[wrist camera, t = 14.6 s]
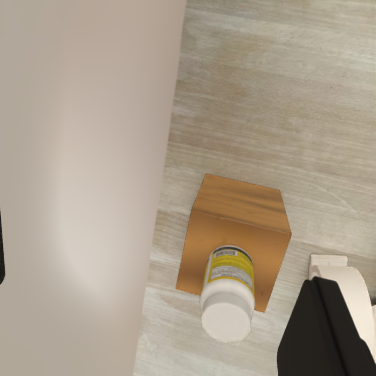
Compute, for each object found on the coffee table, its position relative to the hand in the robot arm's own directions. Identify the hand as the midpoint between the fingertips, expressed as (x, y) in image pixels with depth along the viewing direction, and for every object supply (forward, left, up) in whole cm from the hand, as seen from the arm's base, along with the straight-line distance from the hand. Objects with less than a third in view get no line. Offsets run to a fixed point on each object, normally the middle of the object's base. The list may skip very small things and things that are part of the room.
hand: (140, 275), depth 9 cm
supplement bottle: (+8, +10, -21) cm, 25 cm away
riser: (+8, +10, -33) cm, 35 cm away
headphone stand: (+5, +25, -33) cm, 41 cm away
